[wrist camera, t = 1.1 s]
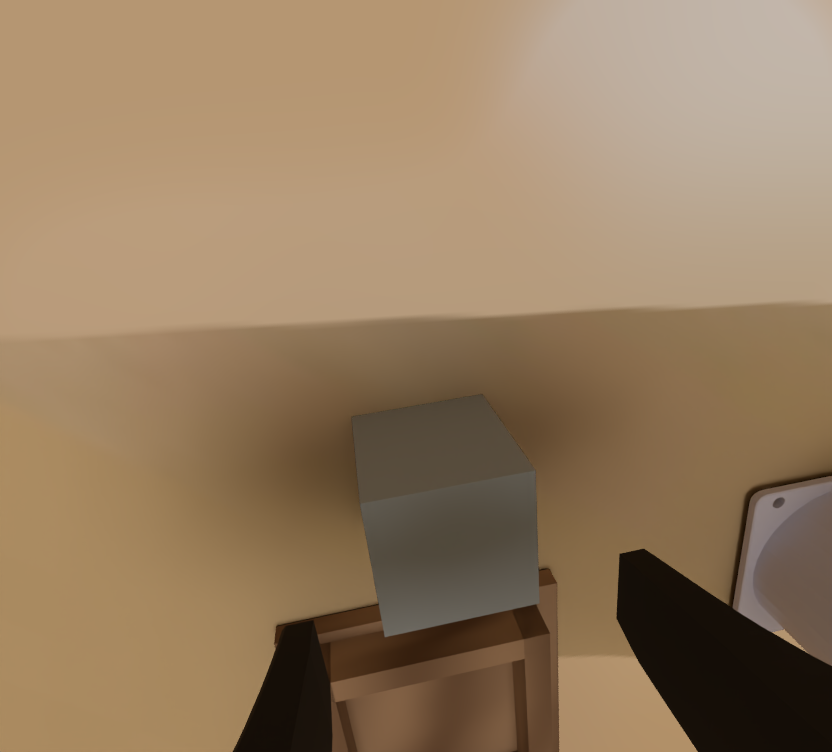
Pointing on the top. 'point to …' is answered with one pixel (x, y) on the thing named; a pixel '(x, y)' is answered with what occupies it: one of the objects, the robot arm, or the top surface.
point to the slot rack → (445, 681)
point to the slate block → (446, 513)
